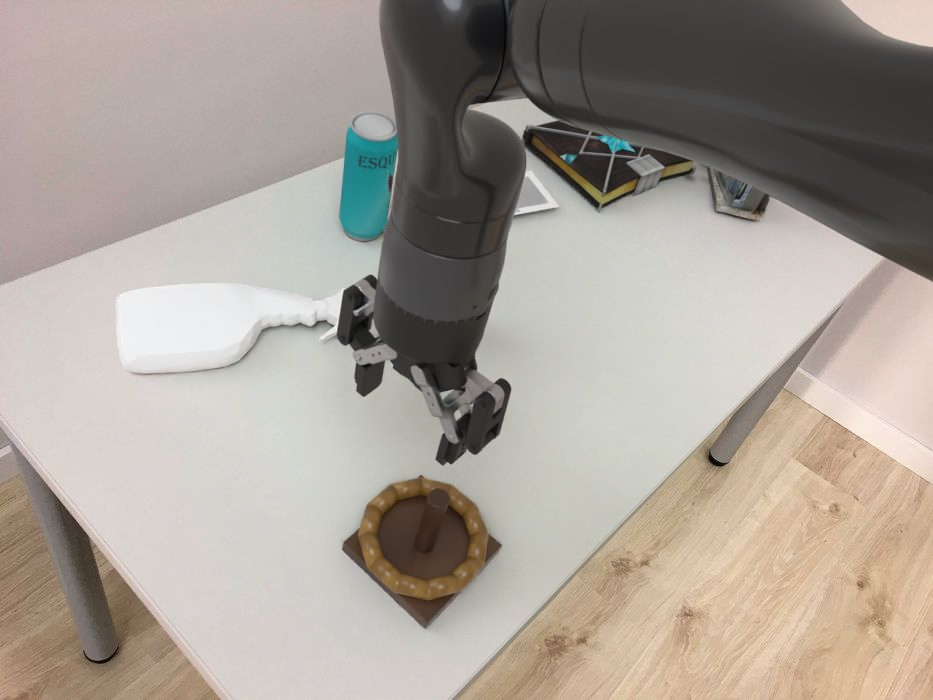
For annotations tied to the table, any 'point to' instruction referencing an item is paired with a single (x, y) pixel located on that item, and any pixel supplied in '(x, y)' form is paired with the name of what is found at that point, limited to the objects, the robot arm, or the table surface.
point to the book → (602, 161)
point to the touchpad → (534, 196)
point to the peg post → (421, 547)
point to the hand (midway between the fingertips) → (407, 422)
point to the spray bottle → (207, 323)
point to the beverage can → (368, 174)
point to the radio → (737, 196)
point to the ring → (409, 583)
